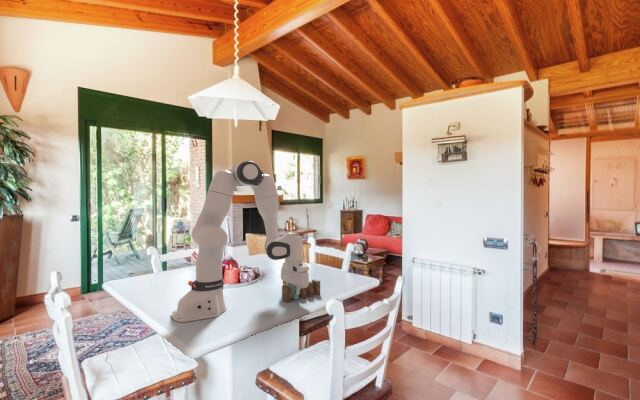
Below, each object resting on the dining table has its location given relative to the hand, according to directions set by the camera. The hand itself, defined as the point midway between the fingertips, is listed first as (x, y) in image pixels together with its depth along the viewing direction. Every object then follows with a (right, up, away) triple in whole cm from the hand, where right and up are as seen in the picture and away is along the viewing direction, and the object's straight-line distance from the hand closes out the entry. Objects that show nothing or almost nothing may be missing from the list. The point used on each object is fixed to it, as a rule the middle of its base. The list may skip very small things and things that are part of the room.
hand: (294, 292), depth 161 cm
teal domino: (0, -3, 0) cm, 3 cm away
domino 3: (+7, -3, +6) cm, 10 cm away
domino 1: (-3, -3, -3) cm, 5 cm away
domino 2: (+4, -3, +3) cm, 5 cm away
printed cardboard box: (-2, -3, +20) cm, 20 cm away
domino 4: (+11, -3, +8) cm, 14 cm away
